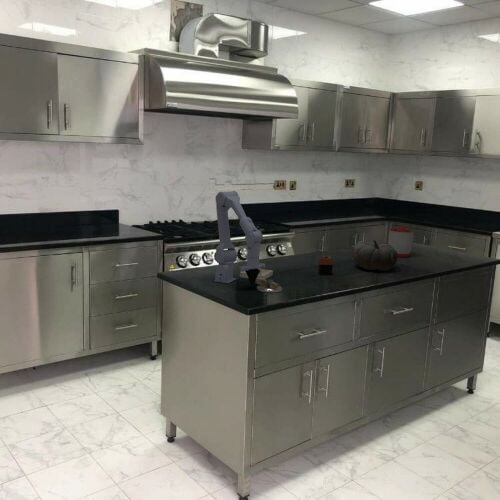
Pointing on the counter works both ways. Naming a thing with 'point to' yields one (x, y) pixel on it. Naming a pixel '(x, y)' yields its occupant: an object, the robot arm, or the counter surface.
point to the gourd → (375, 256)
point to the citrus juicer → (401, 240)
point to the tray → (264, 275)
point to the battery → (325, 265)
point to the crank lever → (267, 283)
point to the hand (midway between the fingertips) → (252, 284)
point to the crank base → (268, 289)
